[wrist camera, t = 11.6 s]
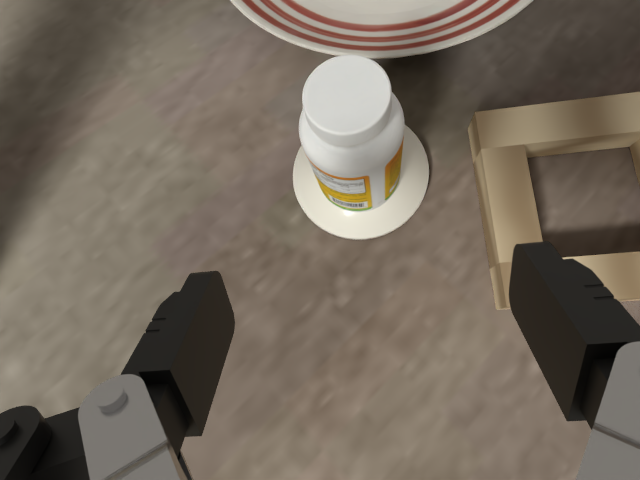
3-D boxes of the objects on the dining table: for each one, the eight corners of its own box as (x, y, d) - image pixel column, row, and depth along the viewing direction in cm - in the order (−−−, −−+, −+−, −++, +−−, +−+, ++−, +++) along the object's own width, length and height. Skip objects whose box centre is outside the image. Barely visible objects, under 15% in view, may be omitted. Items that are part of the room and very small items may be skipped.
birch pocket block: (496, 309, 25) (506, 307, 23) (467, 129, 28) (474, 111, 26) (715, 294, 24) (748, 290, 22) (662, 105, 27) (686, 85, 25)
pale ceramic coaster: (268, 185, 29) (266, 182, 29) (352, 92, 30) (351, 87, 29) (367, 268, 27) (367, 266, 26) (456, 165, 28) (458, 161, 27)
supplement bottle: (375, 124, 28) (370, 19, 19) (415, 189, 27) (432, 110, 18) (305, 162, 29) (266, 76, 19) (341, 228, 27) (319, 171, 18)
